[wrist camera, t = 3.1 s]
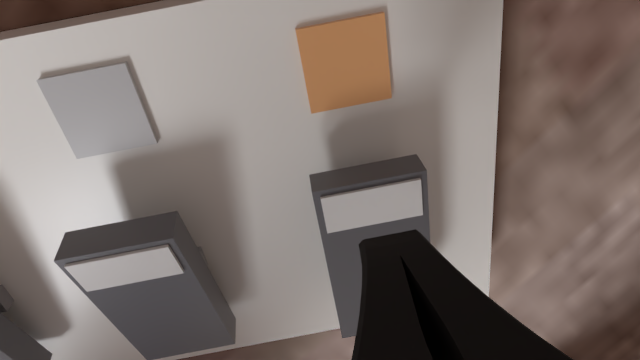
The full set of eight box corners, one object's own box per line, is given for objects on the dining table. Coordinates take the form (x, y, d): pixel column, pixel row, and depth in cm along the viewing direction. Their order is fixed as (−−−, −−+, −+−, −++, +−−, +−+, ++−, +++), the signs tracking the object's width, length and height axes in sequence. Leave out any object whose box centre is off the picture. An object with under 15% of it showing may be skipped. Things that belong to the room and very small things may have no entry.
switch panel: (469, 266, 19) (493, 309, 17) (-34, 363, 19) (-72, 417, 17) (475, -61, 13) (515, -58, 11) (-289, 88, 13) (-402, 120, 11)
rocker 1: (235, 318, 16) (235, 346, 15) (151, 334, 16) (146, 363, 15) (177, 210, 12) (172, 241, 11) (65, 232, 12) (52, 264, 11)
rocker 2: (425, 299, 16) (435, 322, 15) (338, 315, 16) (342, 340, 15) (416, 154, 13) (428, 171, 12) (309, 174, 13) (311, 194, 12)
